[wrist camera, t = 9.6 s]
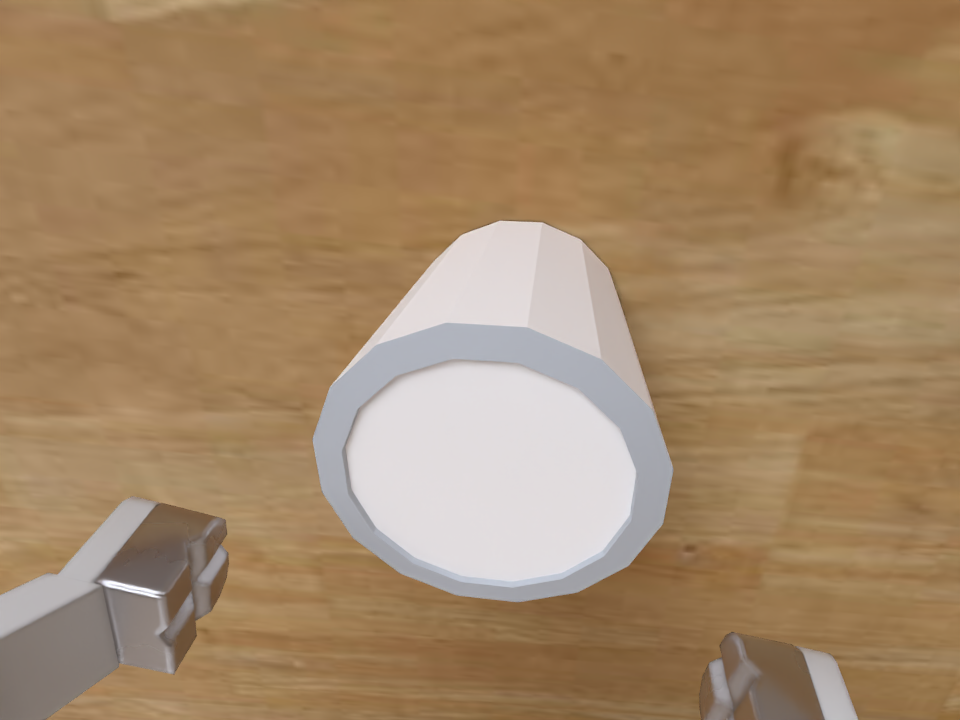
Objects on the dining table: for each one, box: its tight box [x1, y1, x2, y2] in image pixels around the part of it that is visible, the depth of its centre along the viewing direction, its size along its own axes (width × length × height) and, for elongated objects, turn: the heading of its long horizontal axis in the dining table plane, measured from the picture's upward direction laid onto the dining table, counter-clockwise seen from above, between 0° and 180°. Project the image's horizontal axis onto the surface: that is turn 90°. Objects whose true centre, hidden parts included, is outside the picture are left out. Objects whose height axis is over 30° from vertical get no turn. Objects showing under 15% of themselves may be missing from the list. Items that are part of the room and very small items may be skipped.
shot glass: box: [313, 221, 673, 602], centre depth 15 cm, size 7×7×7 cm
